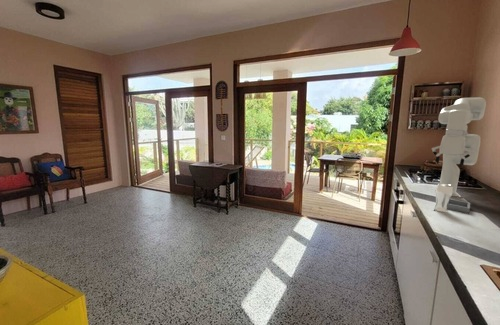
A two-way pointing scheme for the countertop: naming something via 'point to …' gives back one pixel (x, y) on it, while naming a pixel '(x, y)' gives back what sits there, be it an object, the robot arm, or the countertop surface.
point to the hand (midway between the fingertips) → (448, 164)
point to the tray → (459, 206)
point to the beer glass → (443, 197)
